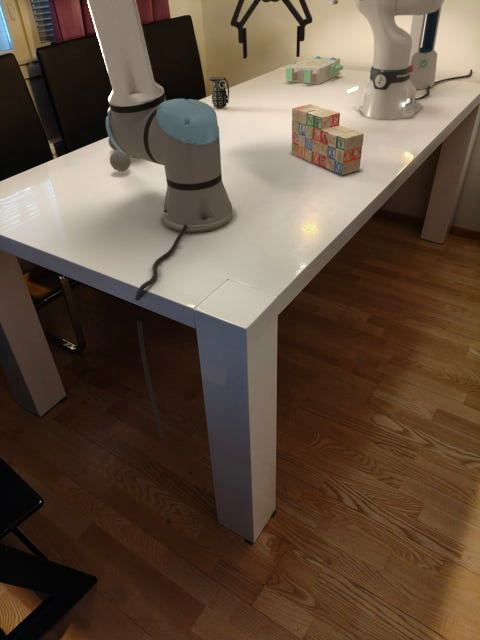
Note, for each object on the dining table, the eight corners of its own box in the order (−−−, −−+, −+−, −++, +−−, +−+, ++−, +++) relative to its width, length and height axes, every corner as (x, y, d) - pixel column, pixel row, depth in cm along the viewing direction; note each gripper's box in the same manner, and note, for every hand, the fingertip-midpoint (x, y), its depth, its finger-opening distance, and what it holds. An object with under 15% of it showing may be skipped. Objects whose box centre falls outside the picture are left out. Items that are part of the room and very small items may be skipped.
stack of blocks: (360, 170, 124) (365, 120, 117) (341, 176, 122) (345, 125, 114) (308, 148, 139) (310, 103, 132) (290, 153, 137) (291, 107, 129)
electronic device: (404, 91, 183) (418, -5, 165) (394, 86, 189) (407, -6, 171) (434, 87, 186) (451, -7, 167) (423, 83, 191) (438, -9, 173)
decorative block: (308, 54, 216) (349, 57, 207) (307, 70, 220) (348, 74, 211) (277, 65, 200) (320, 69, 191) (277, 82, 204) (319, 87, 195)
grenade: (209, 109, 176) (207, 79, 170) (214, 105, 180) (212, 76, 174) (227, 110, 174) (225, 79, 168) (231, 105, 179) (229, 76, 173)
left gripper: (325, -50, 114) (320, 52, 127) (220, -44, 117) (225, 55, 130) (325, -49, 108) (320, 58, 121) (215, -43, 111) (221, 60, 124)
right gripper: (376, -69, 122) (370, -3, 131) (311, -64, 114) (308, 5, 123) (394, -70, 118) (387, -2, 126) (328, -65, 110) (324, 7, 119)
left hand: (271, 56), depth 126 cm, fingers open, 13 cm apart
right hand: (348, 2), depth 125 cm, fingers open, 8 cm apart
